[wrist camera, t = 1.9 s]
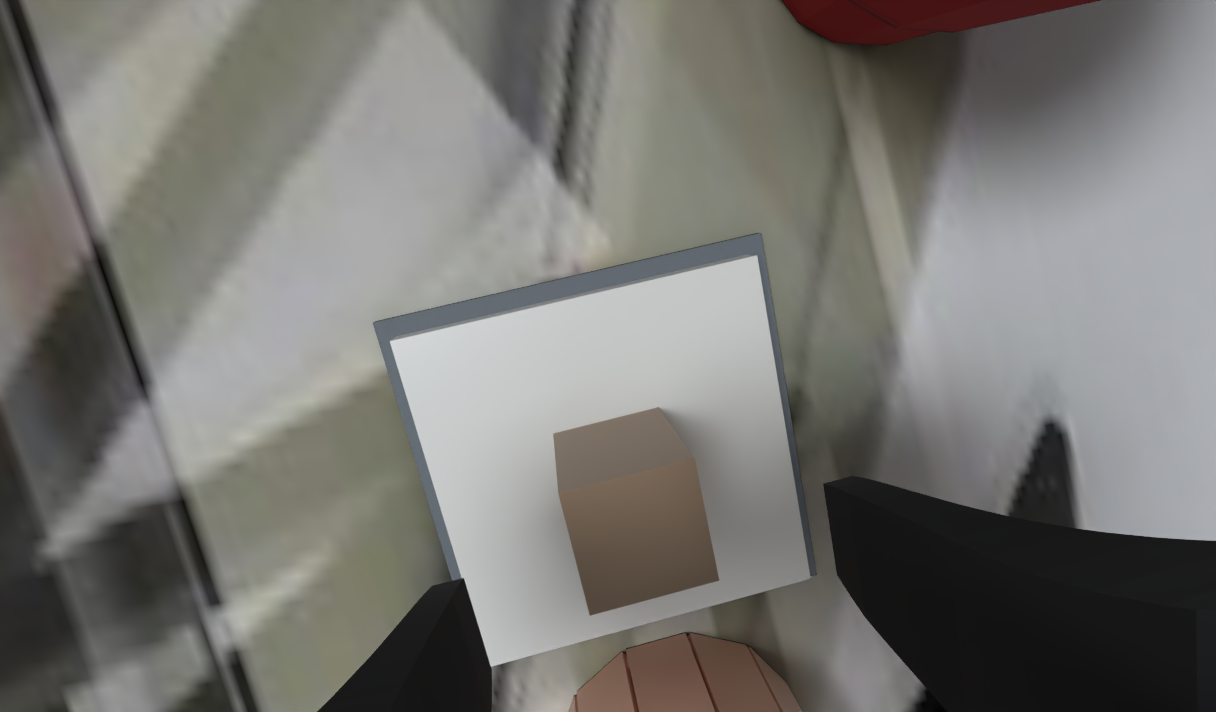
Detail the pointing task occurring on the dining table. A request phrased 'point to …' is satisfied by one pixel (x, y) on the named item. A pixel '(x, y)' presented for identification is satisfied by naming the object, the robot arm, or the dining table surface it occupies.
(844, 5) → the plastic cup
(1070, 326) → the dining table surface
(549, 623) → the lid
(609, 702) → the bowl
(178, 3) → the dining table surface
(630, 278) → the mat
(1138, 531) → the dining table surface
